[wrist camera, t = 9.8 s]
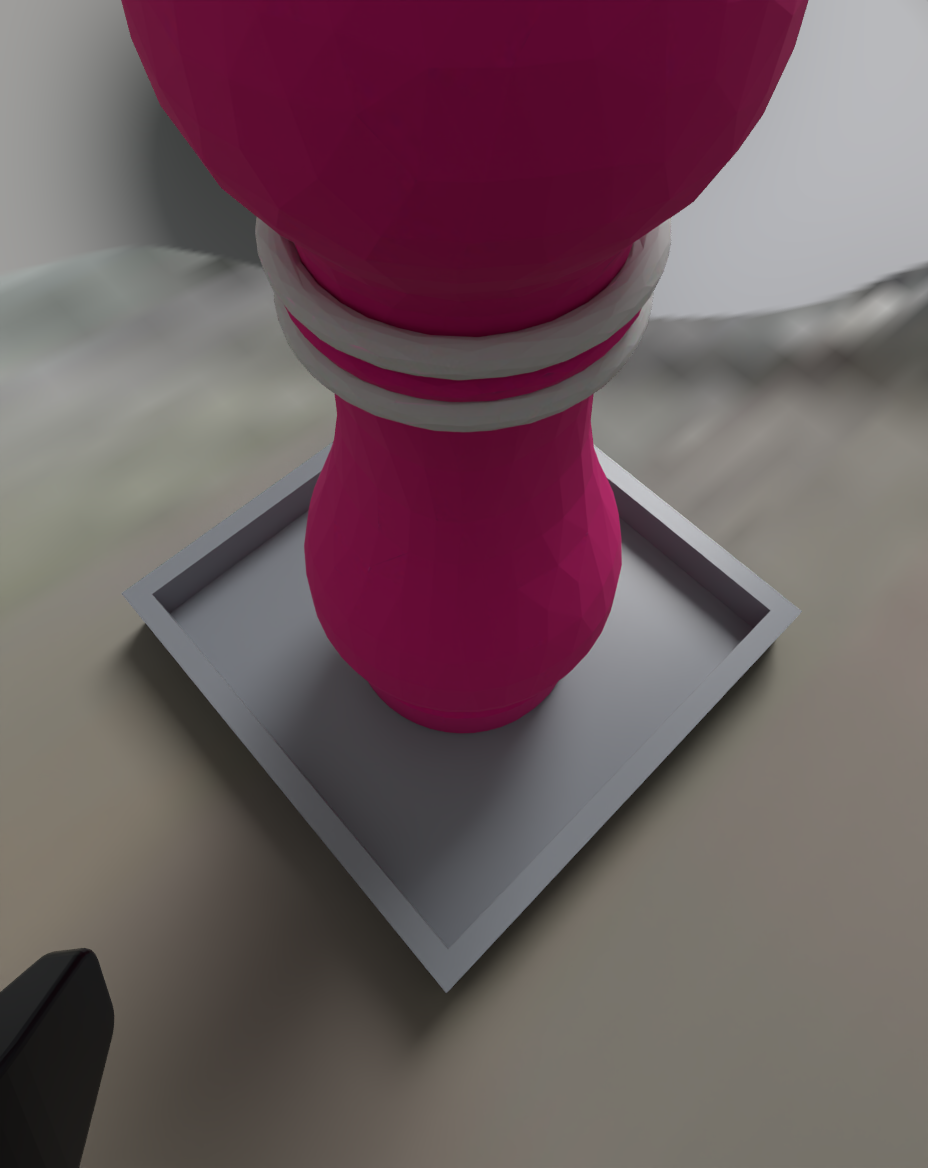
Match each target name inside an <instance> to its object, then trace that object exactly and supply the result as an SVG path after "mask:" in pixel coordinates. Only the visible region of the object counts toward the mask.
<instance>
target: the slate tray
mask: <svg viewBox="0 0 928 1168" xmlns="http://www.w3.org/2000/svg"><path fill="white" fill-rule="evenodd" d="M332 444H333V442H332V443H331V444H329V445H328V446H327V447H325V448H324V449H322V450H321V451H320V452H318V453H317V454H315V455H314V456H313V457H311V458H310V459H308V460H307V461H306V462H304V463H303V464H301V465H300V466H299V467H297V468H296V469H294V470H293V471H292V472H290V473H289V474H287V475H286V476H285V477H283V478H282V479H280V480H279V481H278V482H276V483H275V484H273V485H272V486H271V487H269V488H268V489H267V490H265V491H264V492H262V493H261V494H260V495H258V496H257V497H255V498H254V499H253V500H251V501H250V502H248V503H247V504H246V505H244V506H243V507H241V508H240V509H239V510H237V511H236V512H234V513H233V514H232V515H230V516H229V517H227V518H226V519H225V520H223V521H222V522H220V523H219V524H218V525H216V526H215V527H213V528H212V529H211V530H209V531H208V532H206V533H205V534H204V535H202V536H201V537H199V538H198V539H197V540H195V541H194V542H192V543H191V544H190V545H188V546H187V547H185V548H184V549H183V550H181V551H180V552H178V553H177V554H176V555H174V556H173V557H171V558H170V559H169V560H167V561H166V562H164V563H163V564H162V565H160V566H159V567H157V568H156V569H155V570H153V571H152V572H150V573H149V574H148V575H146V576H145V577H143V578H142V579H141V580H139V581H138V582H137V583H135V584H134V585H132V586H131V587H130V588H128V589H127V590H125V591H124V592H123V593H122V595H123V596H124V597H125V598H126V600H127V601H128V602H129V603H130V605H131V606H132V607H133V608H134V609H135V611H136V612H137V613H138V614H139V616H140V617H141V618H142V619H143V621H144V622H145V623H146V624H147V625H148V627H149V628H150V629H151V630H152V632H153V633H154V634H155V635H156V637H157V638H158V639H159V640H160V641H161V643H162V644H163V645H164V646H165V648H166V649H167V650H168V651H169V653H170V654H171V655H172V656H173V657H174V659H175V660H176V661H177V662H178V664H179V665H180V666H181V667H182V669H183V670H184V671H185V672H186V673H187V675H188V676H189V677H190V678H191V680H192V681H193V682H194V683H195V685H196V686H197V687H198V688H199V689H200V691H201V692H202V693H203V694H204V696H205V697H206V698H207V699H208V701H209V702H210V703H211V704H212V705H213V707H214V708H215V709H216V710H217V712H218V713H219V714H220V715H221V717H222V718H223V719H224V720H225V721H226V723H227V724H228V725H229V726H230V728H231V729H232V730H233V731H234V733H235V734H236V735H237V736H238V737H239V739H240V740H241V741H242V742H243V744H244V745H245V746H246V747H247V749H248V750H249V751H250V752H251V753H252V755H253V756H254V757H255V758H256V760H257V761H258V762H259V763H260V765H261V766H262V767H263V768H264V769H265V771H266V772H267V773H268V774H269V776H270V777H271V778H272V779H273V781H274V782H275V783H276V784H277V785H278V787H279V788H280V789H281V790H282V792H283V793H284V794H285V795H286V797H287V798H288V799H289V800H290V801H291V803H292V804H293V805H294V806H295V808H296V809H297V810H298V811H299V813H300V814H301V815H302V816H303V817H304V819H305V820H306V821H307V822H308V824H309V825H310V826H311V827H312V829H313V830H314V831H315V832H316V833H317V835H318V836H319V837H320V838H321V840H322V841H323V842H324V843H325V845H326V846H327V847H328V848H329V849H330V851H331V852H332V853H333V854H334V856H335V857H336V858H337V859H338V861H339V862H340V863H341V864H342V865H343V867H344V868H345V869H346V870H347V872H348V873H349V874H350V875H351V877H352V878H353V879H354V880H355V881H356V883H357V884H358V885H359V886H360V888H361V889H362V890H363V891H364V893H365V894H366V895H367V896H368V897H369V899H370V900H371V901H372V902H373V904H374V905H375V906H376V907H377V909H378V910H379V911H380V912H381V913H382V915H383V916H384V917H385V918H386V920H387V921H388V922H389V923H390V925H391V926H392V927H393V928H394V930H395V931H396V932H397V933H398V934H399V936H400V937H401V938H402V939H403V941H404V942H405V943H406V944H407V946H408V947H409V948H410V949H411V950H412V952H413V953H414V954H415V955H416V957H417V958H418V959H419V960H420V962H421V963H422V964H423V965H424V966H425V968H426V969H427V970H428V971H429V973H430V974H431V975H432V976H433V978H434V979H435V980H436V981H437V982H438V984H439V985H440V986H441V987H442V989H443V990H444V991H445V992H446V993H447V992H448V991H449V990H450V989H451V988H452V987H453V986H454V985H455V983H456V982H457V981H458V980H459V979H460V978H461V977H462V976H463V975H464V974H465V973H466V972H467V971H468V970H469V968H470V967H471V966H472V965H473V964H474V963H475V962H476V961H477V960H478V959H479V958H480V957H481V956H482V955H483V953H484V952H485V951H486V950H487V949H488V948H489V947H490V946H491V945H492V944H493V943H494V942H495V941H496V939H497V938H498V937H499V936H500V935H501V934H502V933H503V932H504V931H505V930H506V929H507V928H508V927H509V926H510V924H511V923H512V922H513V921H514V920H515V919H516V918H517V917H518V916H519V915H520V914H521V913H522V912H523V910H524V909H525V908H526V907H527V906H528V905H529V904H530V903H531V902H532V901H533V900H534V899H535V898H536V897H537V895H538V894H539V893H540V892H541V891H542V890H543V889H544V888H545V887H546V886H547V885H548V884H549V883H550V881H551V880H552V879H553V878H554V877H555V876H556V875H557V874H558V873H559V872H560V871H561V870H562V869H563V868H564V866H565V865H566V864H567V863H568V862H569V861H570V860H571V859H572V858H573V857H574V856H575V855H576V854H577V852H578V851H579V850H580V849H581V848H582V847H583V846H584V845H585V844H586V843H587V842H588V841H589V840H590V839H591V837H592V836H593V835H594V834H595V833H596V832H597V831H598V830H599V829H600V828H601V827H602V826H603V825H604V823H605V822H606V821H607V820H608V819H609V818H610V817H611V816H612V815H613V814H614V813H615V812H616V811H617V810H618V808H619V807H620V806H621V805H622V804H623V803H624V802H625V801H626V800H627V799H628V798H629V797H630V796H631V794H632V793H633V792H634V791H635V790H636V789H637V788H638V787H639V786H640V785H641V784H642V783H643V782H644V781H645V779H646V778H647V777H648V776H649V775H650V774H651V773H652V772H653V771H654V770H655V769H656V768H657V767H658V766H659V764H660V763H661V762H662V761H663V760H664V759H665V758H666V757H667V756H668V755H669V754H670V753H671V752H672V750H673V749H674V748H675V747H676V746H677V745H678V744H679V743H680V742H681V741H682V740H683V739H684V738H685V737H686V735H687V734H688V733H689V732H690V731H691V730H692V729H693V728H694V727H695V726H696V725H697V724H698V723H699V721H700V720H701V719H702V718H703V717H704V716H705V715H706V714H707V713H708V712H709V711H710V710H711V709H712V708H713V706H714V705H715V704H716V703H717V702H718V701H719V700H720V699H721V698H722V697H723V696H724V695H725V694H726V692H727V691H728V690H729V689H730V688H731V687H732V686H733V685H734V684H735V683H736V682H737V681H738V680H739V679H740V677H741V676H742V675H743V674H744V673H745V672H746V671H747V670H748V669H749V668H750V667H751V666H752V665H753V663H754V662H755V661H756V660H757V659H758V658H759V657H760V656H761V655H762V654H763V653H764V652H765V651H766V650H767V648H768V647H769V646H770V645H771V644H772V643H773V642H774V641H775V640H776V639H777V638H778V637H779V636H780V634H781V633H782V632H783V631H784V630H785V629H786V628H787V627H788V626H789V625H790V624H791V623H792V622H793V621H794V619H795V618H796V617H797V616H798V615H799V614H800V613H801V612H802V611H801V610H800V609H798V608H797V607H796V606H795V605H793V604H792V603H791V602H790V601H788V600H787V599H786V598H785V597H783V596H782V595H781V594H780V593H778V592H777V591H776V590H775V589H773V588H772V587H771V586H770V585H768V584H767V583H766V582H765V581H763V580H762V579H761V578H760V577H758V576H757V575H756V574H755V573H753V572H752V571H751V570H750V569H748V568H747V567H746V566H745V565H743V564H742V563H741V562H740V561H738V560H737V559H736V558H735V557H733V556H732V555H731V554H730V553H728V552H727V551H726V550H725V549H723V548H722V547H721V546H720V545H718V544H717V543H716V542H715V541H713V540H712V539H711V538H710V537H708V536H707V535H706V534H705V533H703V532H702V531H701V530H700V529H698V528H697V527H696V526H695V525H693V524H692V523H691V522H690V521H688V520H687V519H686V518H685V517H683V516H682V515H681V514H680V513H678V512H677V511H676V510H675V509H673V508H672V507H671V506H670V505H668V504H667V503H666V502H665V501H663V500H662V499H661V498H660V497H658V496H657V495H656V494H655V493H653V492H652V491H651V490H650V489H648V488H647V487H646V486H645V485H643V484H642V483H641V482H640V481H638V480H637V479H636V478H635V477H633V476H632V475H631V474H630V473H628V472H627V471H626V470H625V469H623V468H622V467H621V466H620V465H618V464H617V463H616V462H615V461H613V460H612V459H611V458H610V457H608V456H607V455H606V454H605V453H603V452H602V451H601V450H600V449H598V448H597V447H596V446H595V445H594V449H595V452H596V455H597V457H598V460H599V463H600V465H601V467H602V469H603V471H604V473H605V475H606V477H607V479H608V482H609V484H610V486H611V488H612V490H613V493H614V497H615V501H616V505H617V509H618V513H619V521H620V530H621V547H622V566H621V571H620V575H619V580H618V584H617V588H616V593H615V597H614V600H613V604H612V608H611V612H610V614H609V617H608V619H607V621H606V624H605V626H604V628H603V631H602V633H601V634H600V636H599V637H598V639H597V641H596V642H595V644H594V645H593V647H592V648H591V650H590V651H589V653H588V654H587V655H586V656H585V657H584V658H583V659H582V660H581V661H580V662H579V663H578V664H577V665H576V667H575V668H574V669H573V670H572V671H571V672H569V673H568V674H567V675H566V676H565V677H563V678H562V679H561V680H559V681H558V682H557V684H556V685H555V687H554V688H553V690H552V691H551V693H550V694H549V695H548V696H547V697H546V698H545V699H544V700H543V701H542V702H541V703H540V704H539V705H538V706H536V707H535V708H534V709H532V710H531V711H530V712H528V713H527V714H525V715H524V716H522V717H521V718H519V719H518V720H516V721H514V722H512V723H509V724H507V725H505V726H502V727H500V728H496V729H492V730H488V731H483V732H477V733H449V732H443V731H438V730H433V729H429V728H427V727H424V726H421V725H419V724H416V723H414V722H412V721H410V720H408V719H406V718H404V717H403V716H401V715H400V714H398V713H397V712H396V711H394V710H393V709H391V708H390V707H389V706H388V705H387V704H386V703H385V702H384V701H383V700H382V699H381V698H380V697H379V696H378V695H377V693H376V692H375V691H374V690H373V689H372V687H371V686H370V684H369V682H368V681H367V680H365V679H364V678H363V677H362V676H360V675H359V674H358V673H357V672H356V671H355V670H354V669H353V668H352V667H351V666H350V665H349V664H348V663H347V662H346V661H345V660H344V659H343V658H342V657H341V656H340V654H339V653H338V652H337V650H336V649H335V648H334V646H333V645H332V643H331V642H330V641H329V639H328V638H327V636H326V634H325V632H324V630H323V628H322V625H321V623H320V621H319V619H318V617H317V614H316V610H315V606H314V603H313V599H312V595H311V591H310V587H309V583H308V579H307V575H306V565H305V553H304V542H305V534H306V526H307V518H308V511H309V505H310V501H311V497H312V494H313V490H314V487H315V485H316V482H317V480H318V478H319V475H320V473H321V471H322V468H323V466H324V464H325V461H326V459H327V457H328V454H329V452H330V450H331V447H332Z"/></svg>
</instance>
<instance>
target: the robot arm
mask: <svg viewBox="0 0 928 1168" xmlns="http://www.w3.org/2000/svg"><path fill="white" fill-rule="evenodd" d="M113 1028H114V1010H113V1005H112V1002H111V999H110V996H109V993H108V989H107V986H106V983H105V980H104V977H103V974H102V971H101V968H100V965H99V961H98V959H97V957H96V954H95V953H94V952H93V951H92V950H90V949H86V948H80V949H72V950H63V951H55V952H51V953H48V954H46V955H44V956H43V957H41V958H40V959H39V960H37V961H36V962H35V963H34V964H33V965H31V966H30V967H29V968H28V969H27V970H26V971H24V972H23V973H22V974H21V975H20V976H19V977H17V978H16V979H15V980H14V981H13V982H12V983H10V984H9V985H8V986H7V987H6V988H5V989H3V990H2V991H1V992H0V1168H79V1166H80V1162H81V1158H82V1154H83V1150H84V1146H85V1142H86V1138H87V1134H88V1131H89V1127H90V1123H91V1119H92V1115H93V1111H94V1107H95V1103H96V1099H97V1095H98V1091H99V1087H100V1083H101V1079H102V1075H103V1071H104V1067H105V1063H106V1059H107V1055H108V1051H109V1047H110V1043H111V1039H112V1035H113Z"/></svg>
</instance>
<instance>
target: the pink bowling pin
mask: <svg viewBox="0 0 928 1168" xmlns="http://www.w3.org/2000/svg"><path fill="white" fill-rule="evenodd" d="M121 1H122V5H123V8H124V12H125V16H126V20H127V24H128V28H129V31H130V35H131V39H132V41H133V43H134V45H135V48H136V50H137V52H138V55H139V57H140V59H141V62H142V64H143V66H144V69H145V71H146V73H147V75H148V78H149V80H150V82H151V85H152V87H153V89H154V91H155V94H156V96H157V98H158V101H159V103H160V105H161V107H162V108H163V109H164V111H165V112H166V113H167V115H168V116H169V117H170V119H171V120H172V121H173V123H174V124H175V126H176V127H177V128H178V129H179V131H180V132H181V134H182V135H183V136H184V138H185V139H186V140H187V141H188V143H189V145H190V146H191V147H192V149H193V150H194V151H195V153H196V154H197V155H198V156H199V158H200V160H201V161H202V162H203V164H204V165H205V166H206V167H207V169H208V170H209V172H210V173H211V175H212V176H213V177H214V179H215V180H216V182H217V183H218V184H219V186H220V187H221V188H222V189H223V190H224V191H226V192H227V193H228V194H230V195H231V196H232V197H233V198H234V199H236V200H237V201H238V202H239V203H241V204H242V205H243V206H244V207H246V208H247V209H248V210H249V211H251V212H252V213H253V214H254V215H256V216H257V221H256V228H255V233H256V241H257V249H258V255H259V258H260V260H261V263H262V266H263V269H264V272H265V274H266V276H267V278H268V280H269V282H270V285H271V287H272V289H273V291H274V303H275V307H276V312H277V316H278V321H279V323H280V326H281V328H282V330H283V333H284V335H285V337H286V340H287V342H288V344H289V346H290V348H291V349H292V351H293V352H294V354H295V356H296V357H297V358H298V360H299V361H300V362H301V363H302V364H303V365H304V367H305V368H306V369H307V370H308V371H309V372H310V374H311V375H312V376H313V377H314V378H316V379H317V380H318V381H319V382H320V383H321V384H322V385H324V386H325V387H326V388H328V389H329V390H331V391H332V392H333V393H335V400H336V408H337V420H336V429H335V437H334V441H333V444H332V447H331V450H330V452H329V454H328V457H327V459H326V461H325V464H324V466H323V468H322V471H321V473H320V475H319V478H318V480H317V482H316V485H315V487H314V490H313V494H312V497H311V501H310V505H309V511H308V518H307V526H306V534H305V542H304V553H305V565H306V575H307V579H308V583H309V587H310V591H311V595H312V599H313V603H314V606H315V610H316V614H317V617H318V619H319V621H320V623H321V625H322V628H323V630H324V632H325V634H326V636H327V638H328V639H329V641H330V642H331V643H332V645H333V646H334V648H335V649H336V650H337V652H338V653H339V654H340V656H341V657H342V658H343V659H344V660H345V661H346V662H347V663H348V664H349V665H350V666H351V667H352V668H353V669H354V670H355V671H356V672H357V673H358V674H359V675H360V676H362V677H363V678H364V679H365V680H367V681H368V682H369V684H370V686H371V687H372V689H373V690H374V691H375V692H376V693H377V695H378V696H379V697H380V698H381V699H382V700H383V701H384V702H385V703H386V704H387V705H388V706H389V707H390V708H391V709H393V710H394V711H396V712H397V713H398V714H400V715H401V716H403V717H404V718H406V719H408V720H410V721H412V722H414V723H416V724H419V725H421V726H424V727H427V728H429V729H433V730H438V731H443V732H449V733H477V732H483V731H488V730H492V729H496V728H500V727H502V726H505V725H507V724H509V723H512V722H514V721H516V720H518V719H519V718H521V717H522V716H524V715H525V714H527V713H528V712H530V711H531V710H532V709H534V708H535V707H536V706H538V705H539V704H540V703H541V702H542V701H543V700H544V699H545V698H546V697H547V696H548V695H549V694H550V693H551V691H552V690H553V688H554V687H555V685H556V684H557V682H558V681H559V680H561V679H562V678H563V677H565V676H566V675H567V674H568V673H569V672H571V671H572V670H573V669H574V668H575V667H576V665H577V664H578V663H579V662H580V661H581V660H582V659H583V658H584V657H585V656H586V655H587V654H588V653H589V651H590V650H591V648H592V647H593V645H594V644H595V642H596V641H597V639H598V637H599V636H600V634H601V633H602V631H603V628H604V626H605V624H606V621H607V619H608V617H609V614H610V612H611V608H612V604H613V600H614V597H615V593H616V588H617V584H618V580H619V575H620V571H621V566H622V547H621V530H620V521H619V513H618V509H617V505H616V501H615V497H614V493H613V490H612V488H611V486H610V484H609V482H608V479H607V477H606V475H605V473H604V471H603V469H602V467H601V465H600V463H599V460H598V457H597V455H596V452H595V449H594V445H593V437H592V429H591V412H592V403H593V394H594V393H595V392H597V391H598V390H599V389H601V388H602V387H604V386H605V385H606V384H607V383H608V382H609V381H610V380H611V379H612V378H613V377H614V376H615V375H616V374H617V373H618V372H619V371H620V370H621V369H622V367H623V366H624V365H625V364H626V362H627V361H628V360H629V358H630V357H631V355H632V354H633V352H634V351H635V349H636V348H637V346H638V345H639V343H640V341H641V339H642V337H643V334H644V332H645V330H646V328H647V325H648V321H649V316H650V312H651V308H652V302H653V291H654V289H655V287H656V285H657V283H658V281H659V279H660V277H661V275H662V274H663V271H664V268H665V265H666V262H667V259H668V256H669V250H670V245H671V217H672V216H674V215H675V214H677V213H678V212H680V211H681V210H682V209H684V208H685V207H687V206H688V205H690V204H691V203H692V202H694V201H695V199H696V198H697V197H698V196H699V195H700V194H701V193H702V191H703V190H704V189H705V188H706V187H707V186H708V184H709V183H710V182H711V181H712V180H713V179H714V177H715V176H716V175H717V174H718V173H719V172H720V170H721V169H722V168H723V167H724V166H725V165H726V163H727V162H728V161H729V160H730V159H731V158H732V157H733V155H734V154H735V153H736V152H737V151H738V150H739V148H740V147H741V145H742V144H743V142H744V141H745V140H746V138H747V137H748V135H749V134H750V132H751V131H752V130H753V128H754V126H755V125H756V124H757V122H758V121H759V119H760V118H761V117H762V115H763V113H764V111H765V109H766V107H767V105H768V103H769V101H770V99H771V96H772V94H773V92H774V90H775V88H776V86H777V84H778V82H779V79H780V77H781V75H782V73H783V71H784V69H785V67H786V64H787V62H788V60H789V58H790V56H791V54H792V52H793V49H794V47H795V44H796V40H797V37H798V34H799V30H800V27H801V24H802V20H803V17H804V13H805V10H806V7H807V3H808V0H121Z"/></svg>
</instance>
